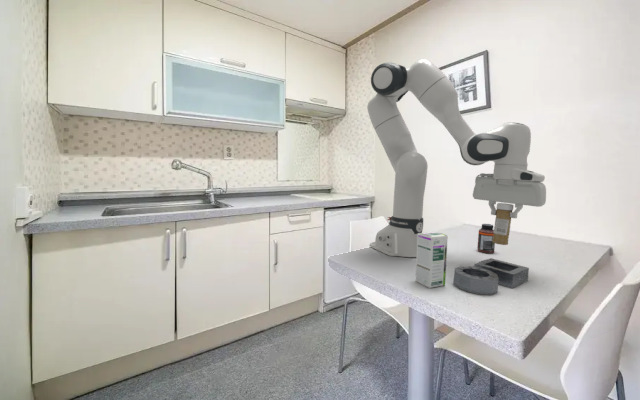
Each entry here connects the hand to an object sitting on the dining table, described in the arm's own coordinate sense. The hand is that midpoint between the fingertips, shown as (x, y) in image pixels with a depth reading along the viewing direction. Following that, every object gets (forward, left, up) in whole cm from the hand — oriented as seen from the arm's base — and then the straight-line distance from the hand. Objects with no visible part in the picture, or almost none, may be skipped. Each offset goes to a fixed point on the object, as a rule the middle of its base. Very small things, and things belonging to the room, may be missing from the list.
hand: (503, 216), depth 90 cm
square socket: (+5, -10, -18) cm, 21 cm away
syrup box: (-4, -32, -18) cm, 37 cm away
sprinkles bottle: (0, 0, -9) cm, 9 cm away
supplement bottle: (-12, +17, -18) cm, 28 cm away
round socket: (+4, -23, -18) cm, 29 cm away
